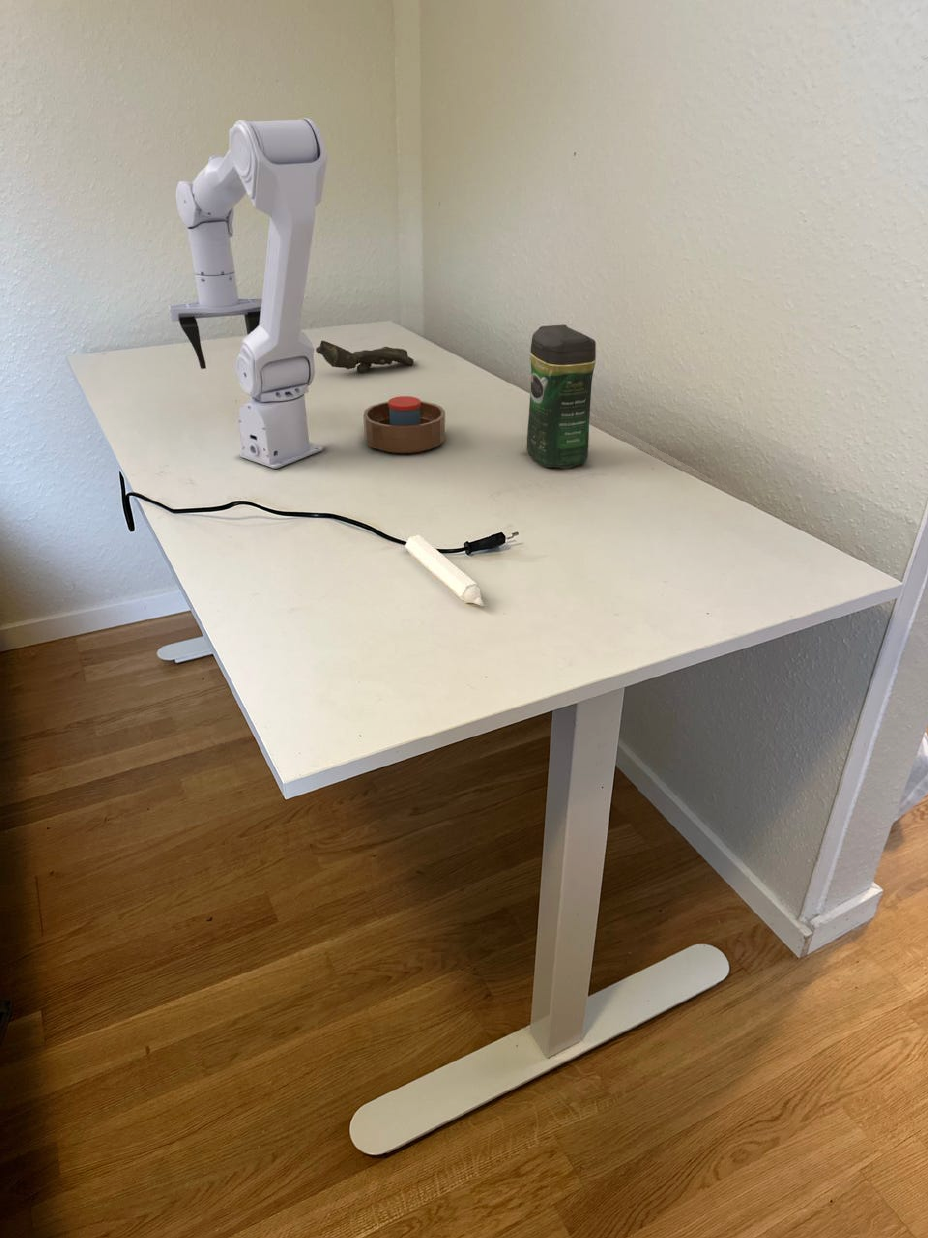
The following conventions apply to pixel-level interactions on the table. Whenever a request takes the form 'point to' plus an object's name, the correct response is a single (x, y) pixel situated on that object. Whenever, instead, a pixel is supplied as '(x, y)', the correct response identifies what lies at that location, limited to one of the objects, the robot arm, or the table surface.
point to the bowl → (404, 429)
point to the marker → (444, 570)
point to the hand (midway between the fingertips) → (228, 364)
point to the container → (404, 411)
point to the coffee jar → (560, 396)
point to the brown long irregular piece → (362, 357)
